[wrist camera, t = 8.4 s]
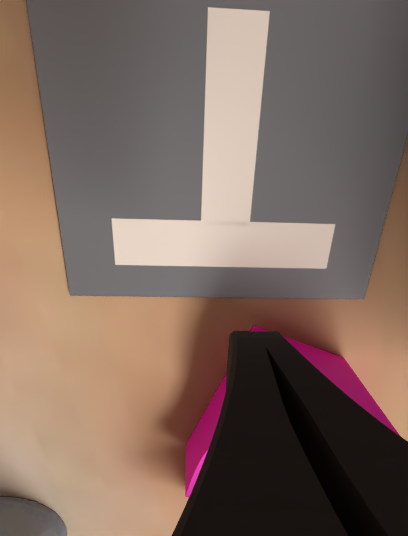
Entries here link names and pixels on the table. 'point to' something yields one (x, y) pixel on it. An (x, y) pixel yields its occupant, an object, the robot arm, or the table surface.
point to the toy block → (322, 360)
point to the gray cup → (28, 519)
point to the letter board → (222, 142)
